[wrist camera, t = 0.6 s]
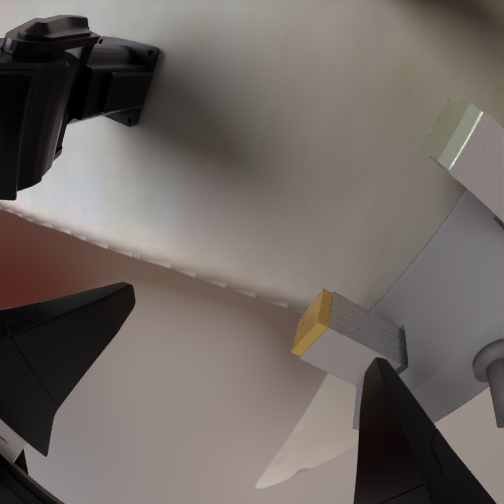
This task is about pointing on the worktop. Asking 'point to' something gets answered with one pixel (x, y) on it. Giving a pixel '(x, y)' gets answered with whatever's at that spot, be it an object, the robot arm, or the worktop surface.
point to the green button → (470, 151)
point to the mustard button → (347, 338)
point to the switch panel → (452, 313)
